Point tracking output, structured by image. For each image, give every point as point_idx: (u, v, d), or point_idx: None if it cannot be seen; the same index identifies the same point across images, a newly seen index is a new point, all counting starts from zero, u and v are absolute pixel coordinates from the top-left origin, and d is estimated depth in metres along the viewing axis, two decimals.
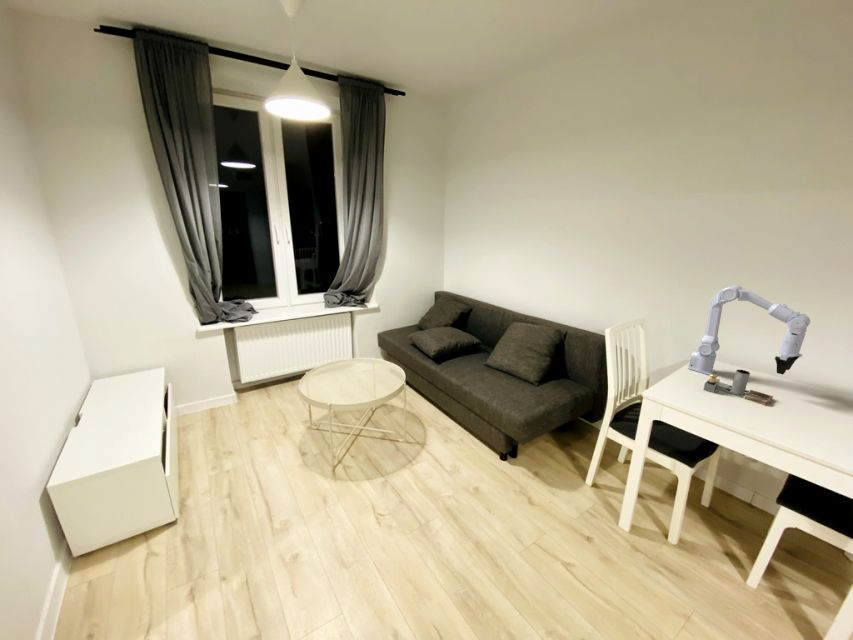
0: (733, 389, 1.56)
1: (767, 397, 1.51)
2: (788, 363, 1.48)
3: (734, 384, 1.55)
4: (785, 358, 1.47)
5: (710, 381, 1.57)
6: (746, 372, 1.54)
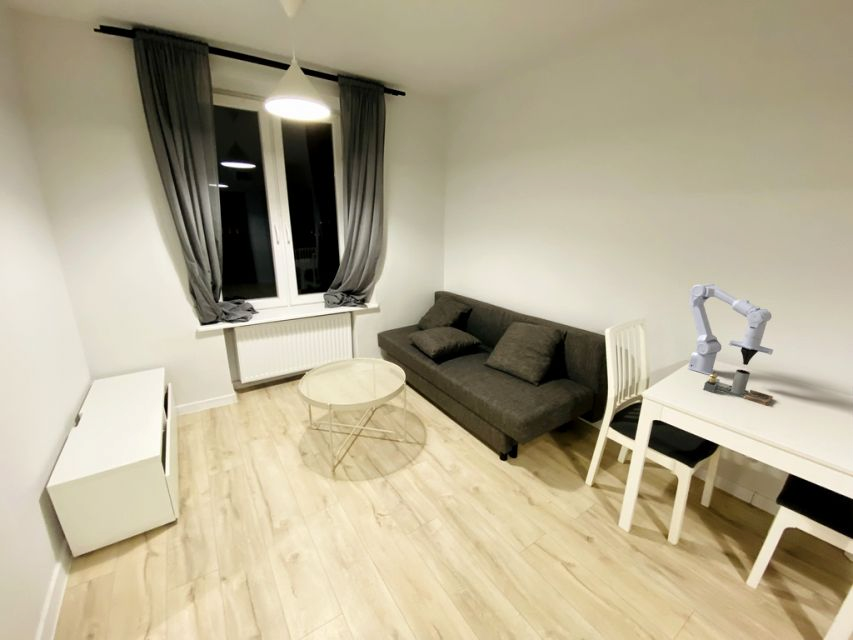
0: (733, 389, 1.56)
1: (767, 397, 1.51)
2: None
3: (734, 384, 1.55)
4: (729, 343, 1.63)
5: (710, 381, 1.57)
6: (746, 372, 1.54)
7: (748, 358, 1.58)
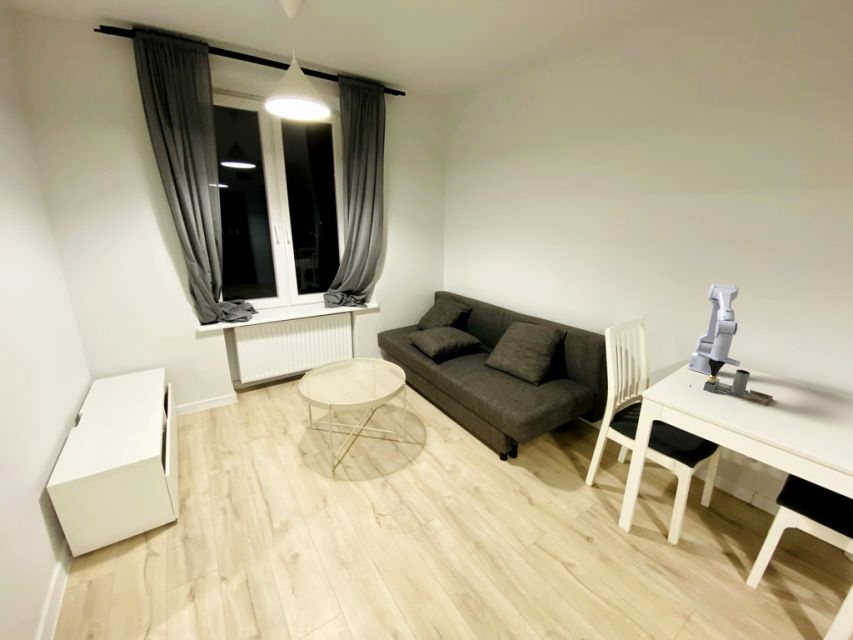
0: (733, 389, 1.56)
1: (767, 397, 1.51)
2: None
3: (734, 384, 1.55)
4: (697, 354, 1.59)
5: (709, 382, 1.57)
6: (746, 372, 1.54)
7: (716, 370, 1.54)
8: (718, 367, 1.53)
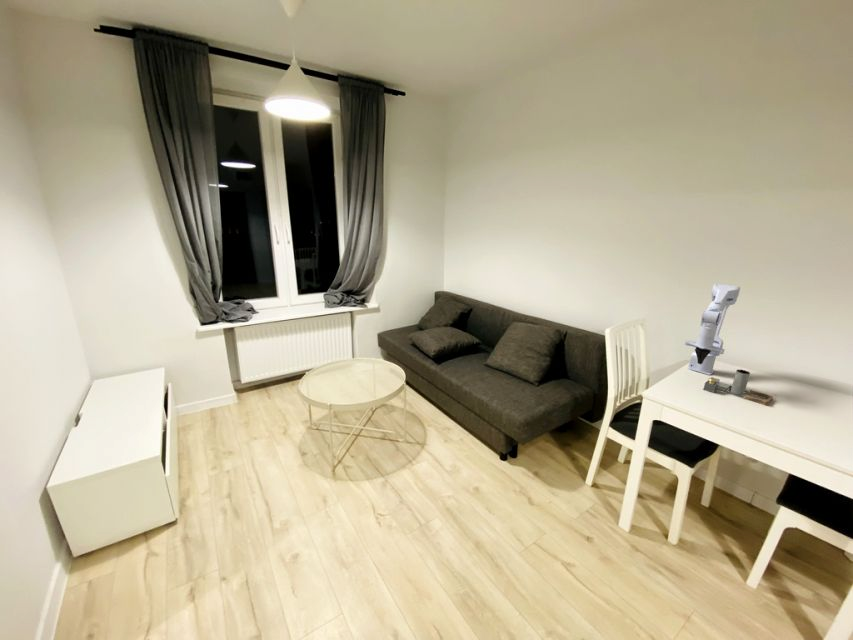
0: (733, 389, 1.56)
1: (767, 397, 1.51)
2: None
3: (734, 384, 1.55)
4: (685, 343, 1.68)
5: None
6: (746, 372, 1.54)
7: (702, 357, 1.63)
8: (704, 355, 1.62)
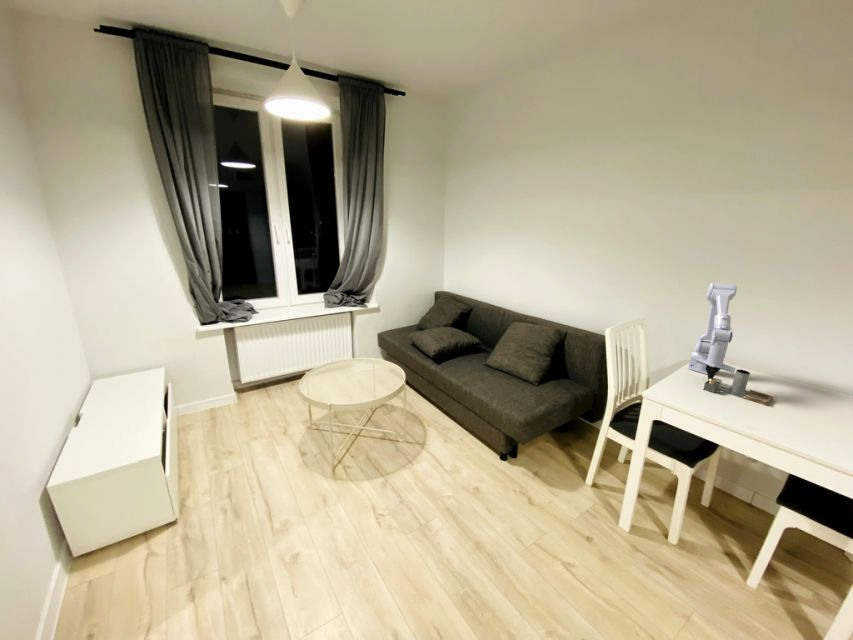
0: (733, 389, 1.56)
1: (767, 397, 1.51)
2: None
3: (734, 384, 1.55)
4: (694, 360, 1.66)
5: None
6: (746, 372, 1.54)
7: (711, 375, 1.61)
8: (713, 373, 1.60)
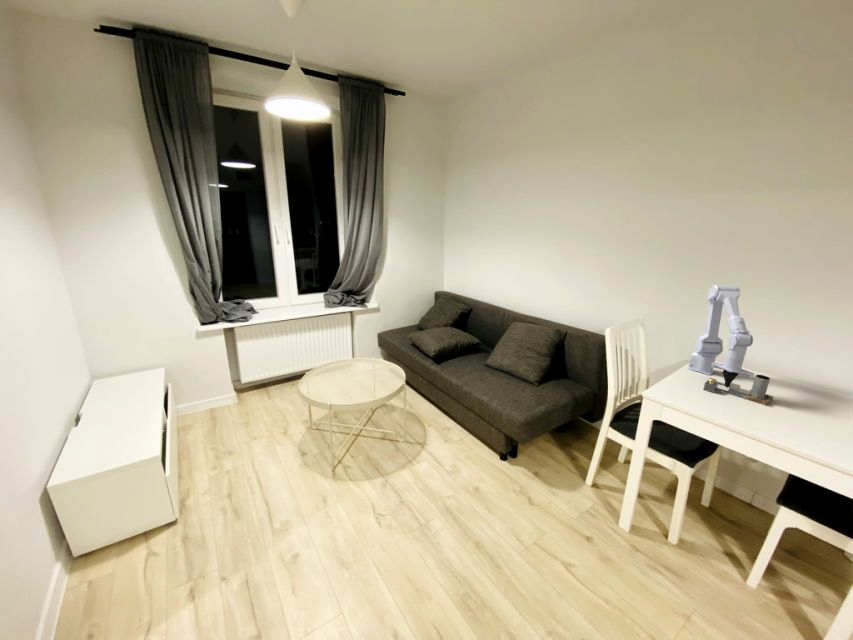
0: (752, 395, 1.51)
1: (767, 397, 1.51)
2: None
3: (754, 390, 1.50)
4: (711, 365, 1.62)
5: None
6: (765, 377, 1.49)
7: (729, 381, 1.57)
8: (731, 378, 1.55)
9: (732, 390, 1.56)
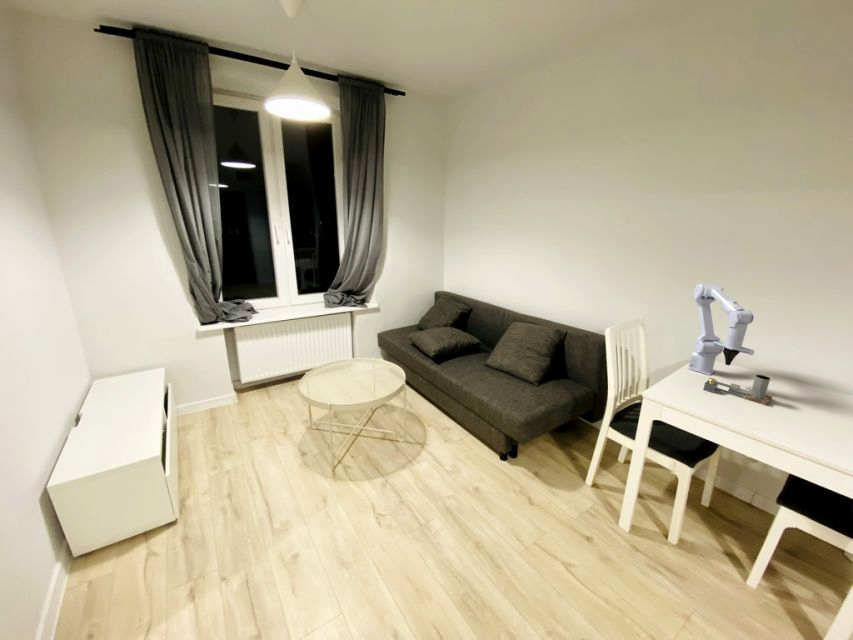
0: (752, 395, 1.51)
1: (767, 397, 1.51)
2: None
3: (754, 390, 1.50)
4: None
5: None
6: (765, 377, 1.49)
7: (730, 358, 1.59)
8: (732, 356, 1.58)
9: (732, 390, 1.56)
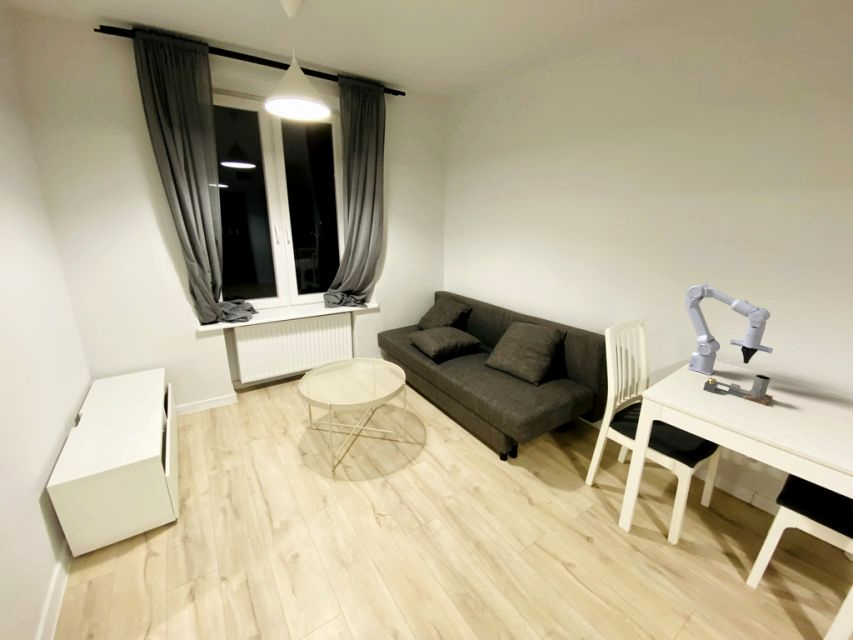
0: (752, 395, 1.51)
1: (767, 397, 1.51)
2: None
3: (754, 390, 1.50)
4: (730, 342, 1.66)
5: None
6: (765, 377, 1.49)
7: (748, 357, 1.60)
8: (751, 354, 1.59)
9: (732, 390, 1.56)
